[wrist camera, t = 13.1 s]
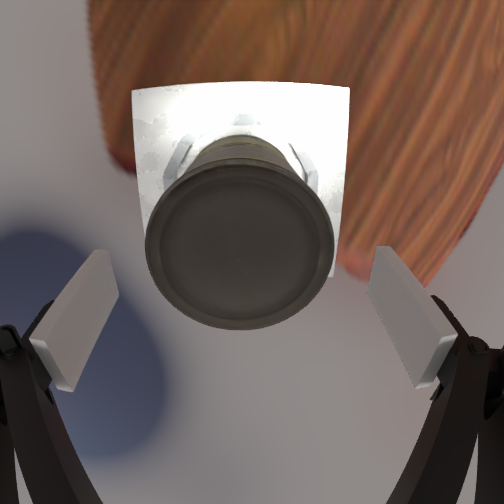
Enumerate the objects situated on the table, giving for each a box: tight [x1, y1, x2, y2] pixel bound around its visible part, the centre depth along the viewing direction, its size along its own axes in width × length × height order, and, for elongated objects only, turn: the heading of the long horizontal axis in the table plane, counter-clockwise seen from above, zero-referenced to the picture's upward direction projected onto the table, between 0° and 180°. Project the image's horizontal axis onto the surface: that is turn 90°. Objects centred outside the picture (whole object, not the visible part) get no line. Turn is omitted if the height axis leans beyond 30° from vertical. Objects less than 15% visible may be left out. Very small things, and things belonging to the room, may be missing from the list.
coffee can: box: [145, 134, 335, 330], centre depth 23 cm, size 10×10×14 cm
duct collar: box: [132, 82, 349, 279], centre depth 29 cm, size 20×20×2 cm
